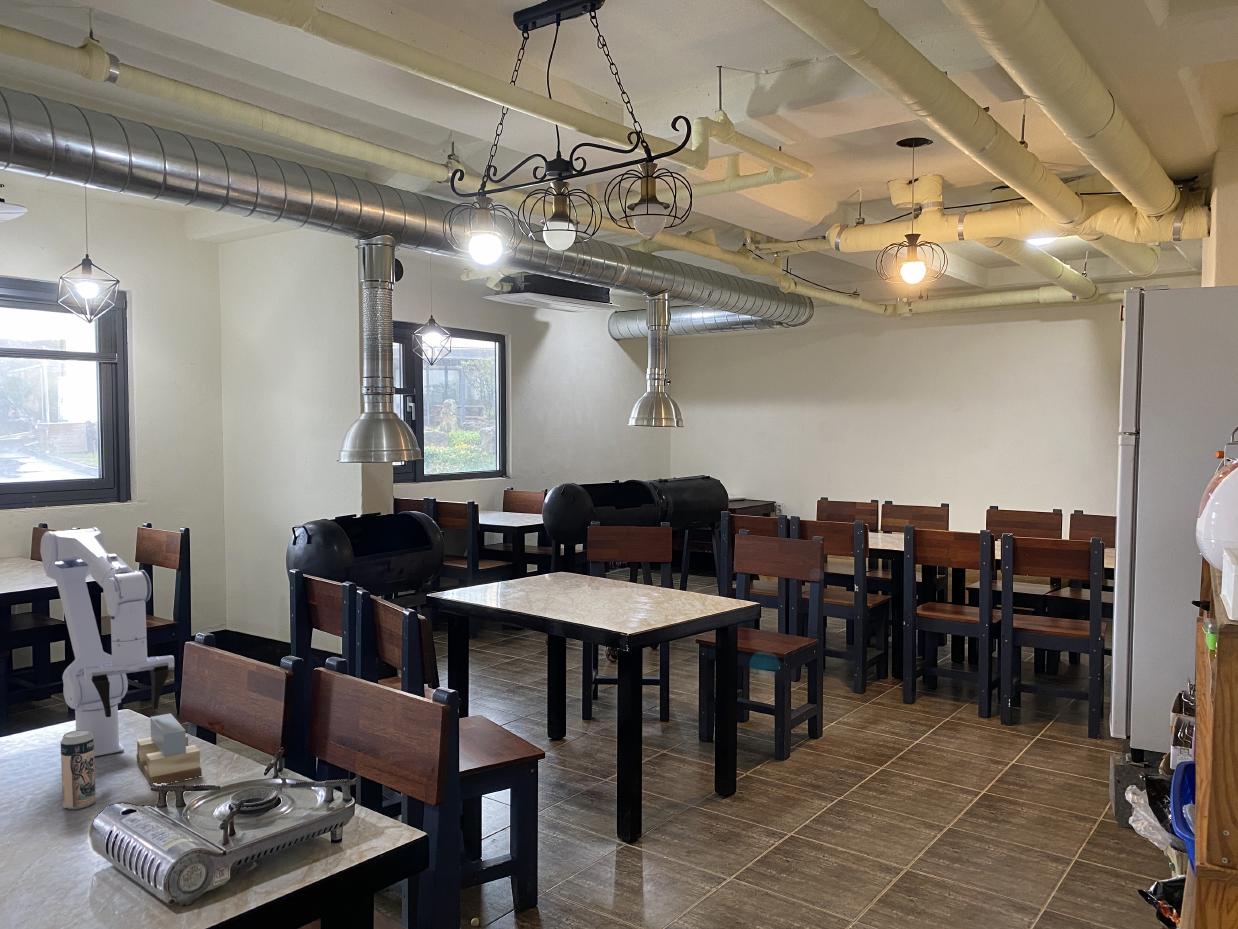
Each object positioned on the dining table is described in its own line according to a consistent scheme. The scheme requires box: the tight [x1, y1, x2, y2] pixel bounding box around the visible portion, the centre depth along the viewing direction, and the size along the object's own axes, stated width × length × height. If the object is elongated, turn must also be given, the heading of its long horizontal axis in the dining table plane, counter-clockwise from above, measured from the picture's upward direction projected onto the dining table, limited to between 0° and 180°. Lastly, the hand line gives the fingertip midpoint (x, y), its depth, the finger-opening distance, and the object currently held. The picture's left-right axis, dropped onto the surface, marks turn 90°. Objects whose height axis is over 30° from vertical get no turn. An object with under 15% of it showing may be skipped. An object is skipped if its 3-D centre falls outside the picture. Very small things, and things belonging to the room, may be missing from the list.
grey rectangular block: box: [149, 713, 187, 757], centre depth 169 cm, size 13×4×4 cm, turn 36°
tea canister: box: [60, 729, 97, 811], centre depth 153 cm, size 5×5×12 cm
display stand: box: [136, 732, 203, 786], centre depth 169 cm, size 16×8×4 cm, turn 36°
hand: (131, 711), depth 170 cm, fingers open, 7 cm apart
